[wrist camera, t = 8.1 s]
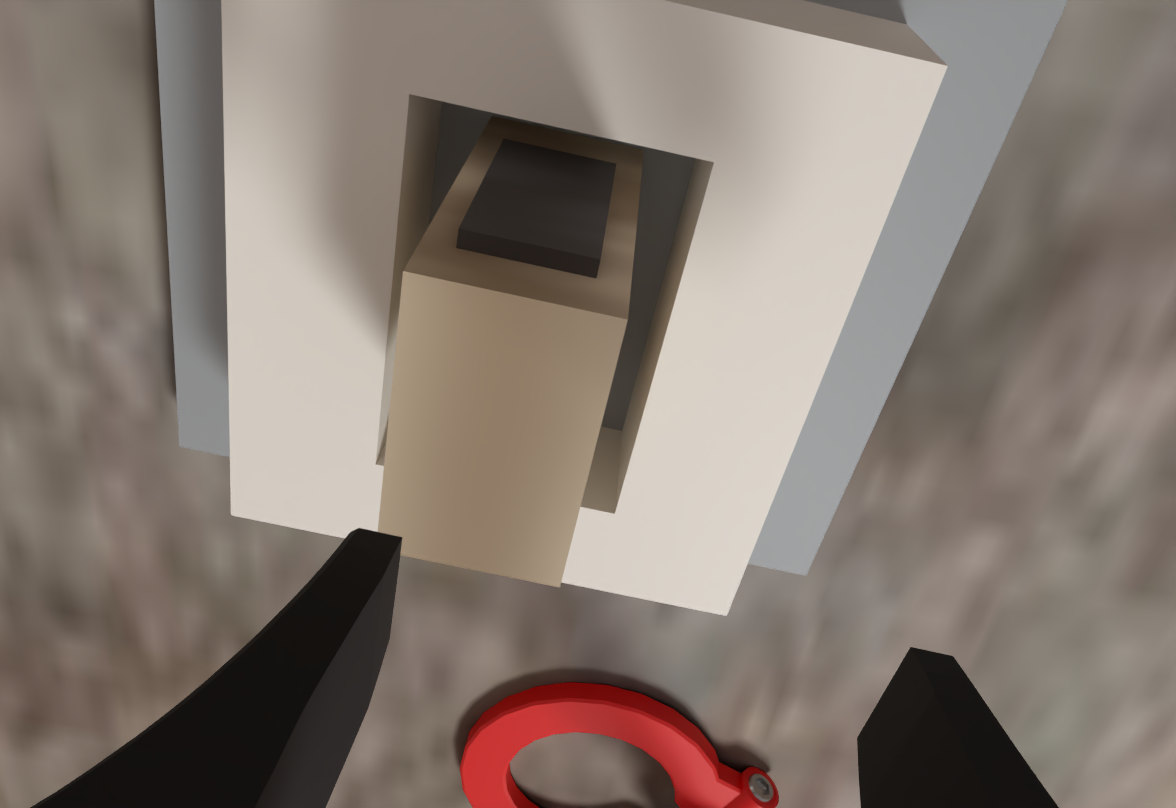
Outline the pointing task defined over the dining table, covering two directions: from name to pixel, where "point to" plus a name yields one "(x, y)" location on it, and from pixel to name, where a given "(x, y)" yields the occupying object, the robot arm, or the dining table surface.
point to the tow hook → (702, 784)
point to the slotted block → (662, 247)
